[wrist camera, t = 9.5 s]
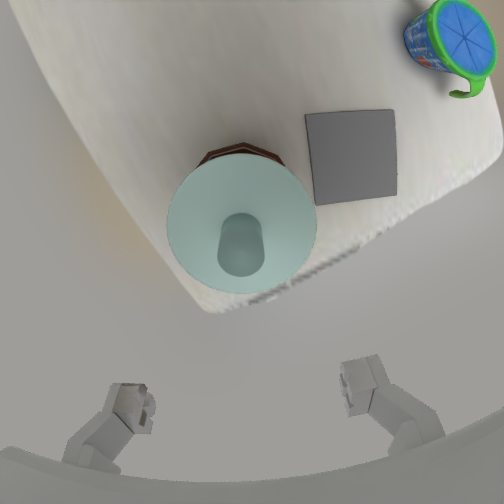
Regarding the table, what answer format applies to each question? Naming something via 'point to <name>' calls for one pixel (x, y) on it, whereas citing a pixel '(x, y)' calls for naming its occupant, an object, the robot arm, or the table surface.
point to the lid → (241, 224)
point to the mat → (352, 155)
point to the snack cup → (454, 43)
